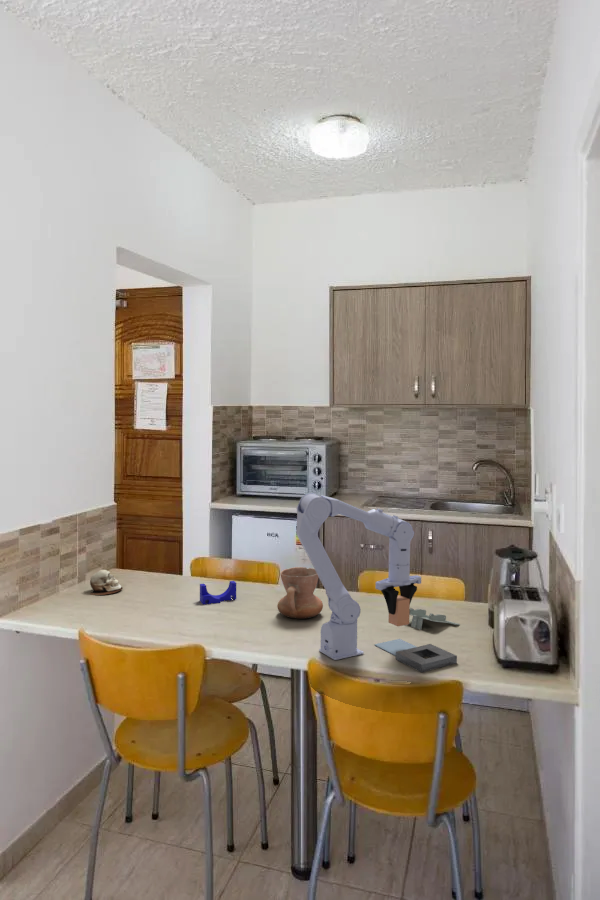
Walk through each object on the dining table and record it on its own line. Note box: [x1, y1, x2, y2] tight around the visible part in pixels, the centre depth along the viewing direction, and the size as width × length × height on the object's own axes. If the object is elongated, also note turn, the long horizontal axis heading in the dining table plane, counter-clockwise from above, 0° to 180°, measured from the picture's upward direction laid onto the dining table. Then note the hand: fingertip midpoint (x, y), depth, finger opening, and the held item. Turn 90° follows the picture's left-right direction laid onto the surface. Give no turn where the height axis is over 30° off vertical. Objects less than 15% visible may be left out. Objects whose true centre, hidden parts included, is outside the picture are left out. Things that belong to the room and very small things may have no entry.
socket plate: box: [395, 643, 458, 674], centre depth 170 cm, size 12×10×2 cm
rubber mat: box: [374, 638, 417, 657], centre depth 180 cm, size 9×9×1 cm
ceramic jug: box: [276, 566, 324, 620], centre depth 207 cm, size 18×14×14 cm
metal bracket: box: [409, 607, 461, 631], centre depth 201 cm, size 14×6×15 cm
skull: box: [89, 569, 123, 596], centre depth 233 cm, size 12×10×10 cm
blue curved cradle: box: [199, 580, 237, 605], centre depth 223 cm, size 12×4×6 cm, turn 112°
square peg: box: [388, 594, 411, 627], centre depth 179 cm, size 4×4×7 cm
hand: (398, 612), depth 179 cm, fingers closed on square peg, 4 cm apart
